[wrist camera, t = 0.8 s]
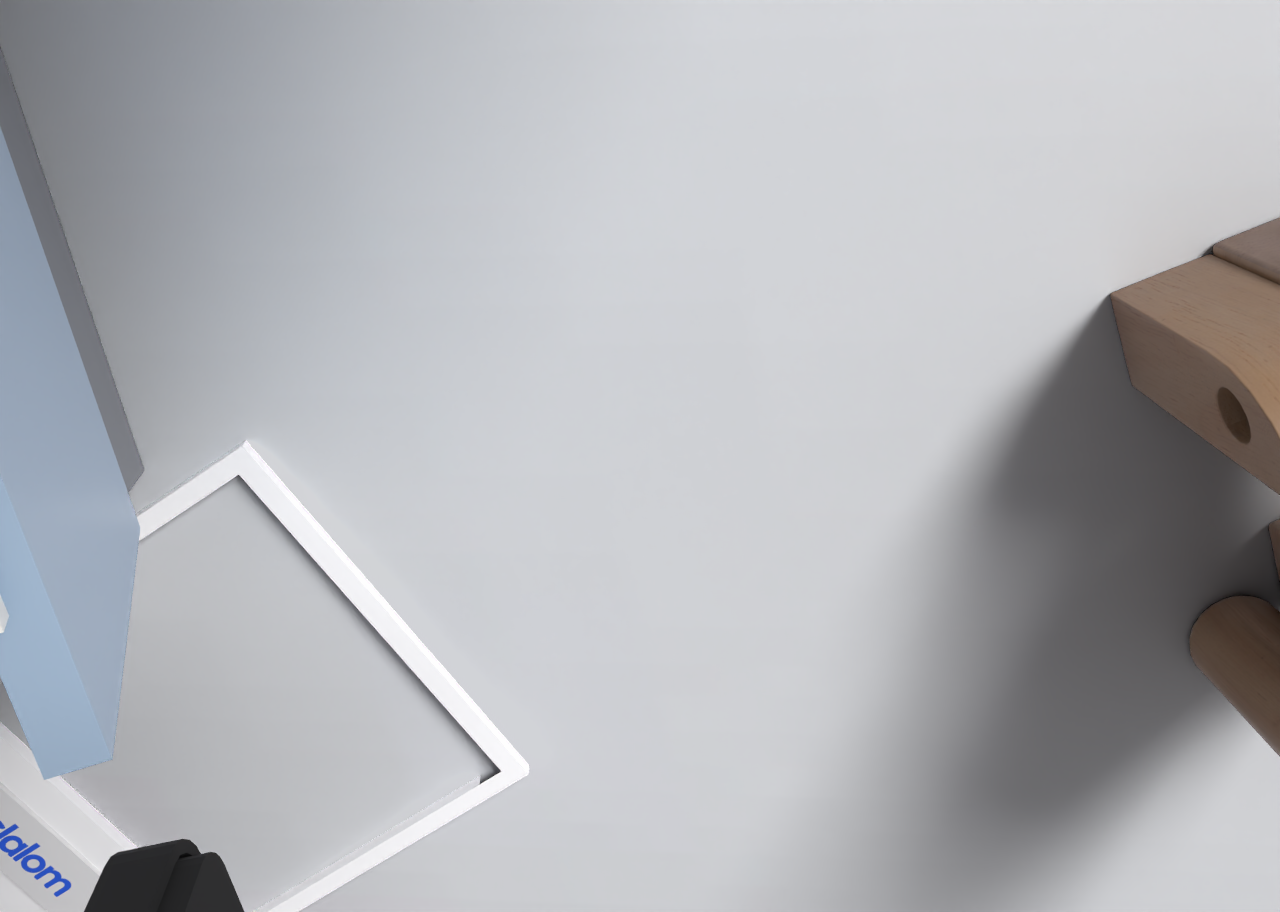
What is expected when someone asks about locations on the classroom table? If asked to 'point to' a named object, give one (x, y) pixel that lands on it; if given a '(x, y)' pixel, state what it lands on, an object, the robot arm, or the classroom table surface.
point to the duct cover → (56, 516)
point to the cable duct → (66, 278)
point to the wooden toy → (1221, 423)
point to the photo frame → (85, 840)
